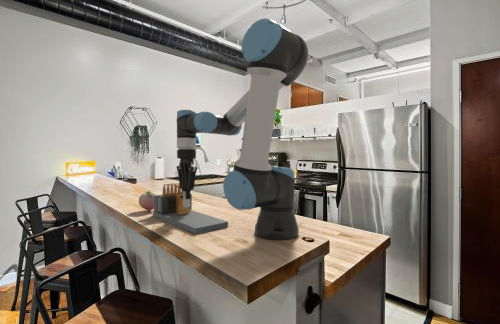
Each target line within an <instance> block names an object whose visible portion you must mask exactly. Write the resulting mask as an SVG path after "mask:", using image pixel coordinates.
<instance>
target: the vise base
mask: <svg viewBox="0 0 500 324" xmlns="http://www.w3.org/2000/svg"><path fill="white" fill-rule="evenodd" d="M160 196H162V194H156V195H154V209H153V210H152V217H155V218H157V219H160V220H162V221H164V222H167V223H168V224H171V225H173V226H176V227H178V228H180V229H183V230H185V231H187V232H189V233H192V234H194V235H198V234H203V233H206V232H212V231H216V230H220V229H224V228H225V229H226V228H228V227H229V221H227V220H224V219H221V218H217V217H214V216H212V215H207V214H204V213H202V212H198V211H196V210H193V209H192V210H190V213H188V214H182V215H177V214H176V212H172V213H165V214H160V213H159V204H160Z"/></svg>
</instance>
